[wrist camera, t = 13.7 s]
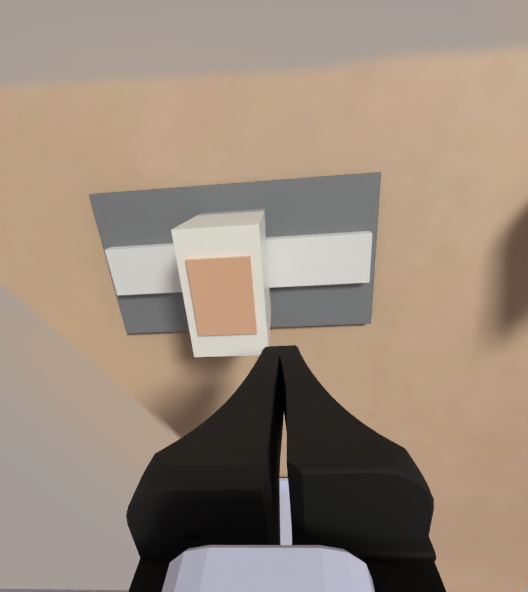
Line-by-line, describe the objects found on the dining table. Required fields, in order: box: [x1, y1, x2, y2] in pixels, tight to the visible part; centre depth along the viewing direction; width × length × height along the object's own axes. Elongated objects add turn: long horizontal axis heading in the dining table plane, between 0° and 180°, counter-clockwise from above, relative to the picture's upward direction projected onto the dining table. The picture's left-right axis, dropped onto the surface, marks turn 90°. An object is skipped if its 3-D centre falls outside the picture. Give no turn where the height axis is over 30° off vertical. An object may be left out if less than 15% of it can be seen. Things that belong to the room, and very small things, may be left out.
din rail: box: [89, 172, 381, 334], centre depth 20 cm, size 10×18×1 cm, turn 94°
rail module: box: [171, 209, 271, 357], centre depth 18 cm, size 7×4×6 cm, turn 4°
